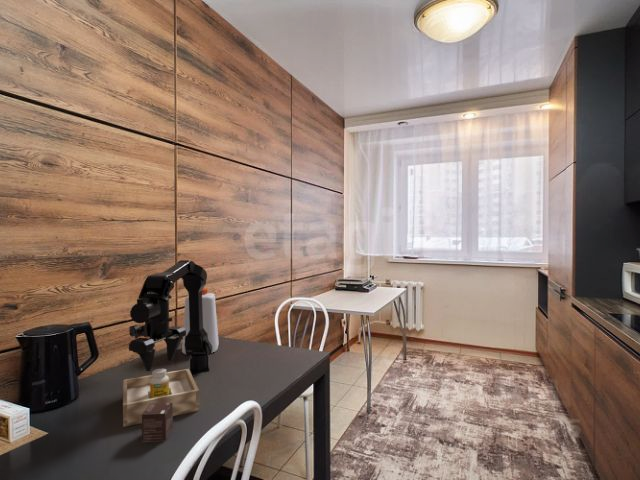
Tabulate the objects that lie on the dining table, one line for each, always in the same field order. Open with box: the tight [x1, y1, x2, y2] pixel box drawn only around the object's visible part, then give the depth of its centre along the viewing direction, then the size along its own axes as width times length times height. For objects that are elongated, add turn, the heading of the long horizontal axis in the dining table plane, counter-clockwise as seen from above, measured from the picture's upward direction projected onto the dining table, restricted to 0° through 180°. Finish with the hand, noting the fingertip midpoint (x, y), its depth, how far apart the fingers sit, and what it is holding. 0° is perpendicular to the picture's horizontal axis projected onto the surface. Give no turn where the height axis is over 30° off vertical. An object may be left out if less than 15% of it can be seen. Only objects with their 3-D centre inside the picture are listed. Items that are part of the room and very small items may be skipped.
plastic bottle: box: [181, 287, 220, 355], centre depth 166 cm, size 15×15×28 cm
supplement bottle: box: [150, 368, 169, 399], centre depth 113 cm, size 5×5×10 cm
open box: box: [122, 368, 200, 428], centre depth 113 cm, size 20×20×6 cm
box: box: [141, 403, 174, 443], centre depth 95 cm, size 6×6×7 cm
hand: (159, 365), depth 113 cm, fingers open, 9 cm apart
